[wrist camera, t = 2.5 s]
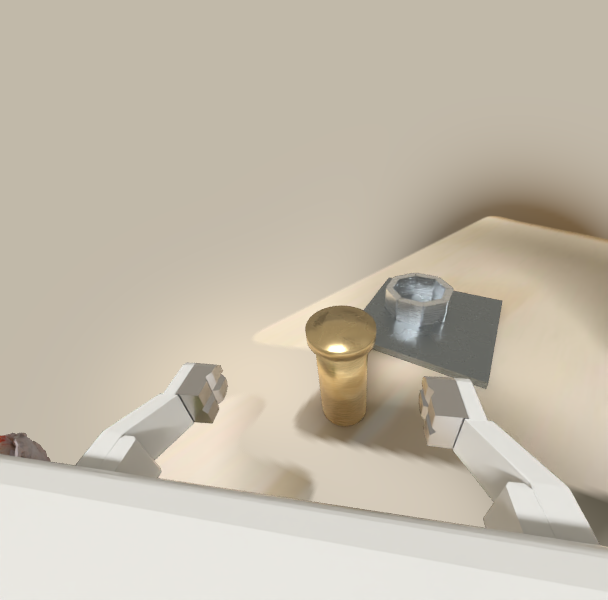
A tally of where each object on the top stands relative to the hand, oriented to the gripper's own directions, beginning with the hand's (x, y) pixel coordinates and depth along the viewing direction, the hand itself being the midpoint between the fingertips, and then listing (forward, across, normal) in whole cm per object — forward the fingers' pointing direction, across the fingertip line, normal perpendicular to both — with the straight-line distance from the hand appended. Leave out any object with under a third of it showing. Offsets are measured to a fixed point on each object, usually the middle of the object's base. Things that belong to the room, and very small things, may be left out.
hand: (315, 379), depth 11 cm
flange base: (+28, -12, +19) cm, 36 cm away
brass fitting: (+12, 0, +19) cm, 23 cm away
